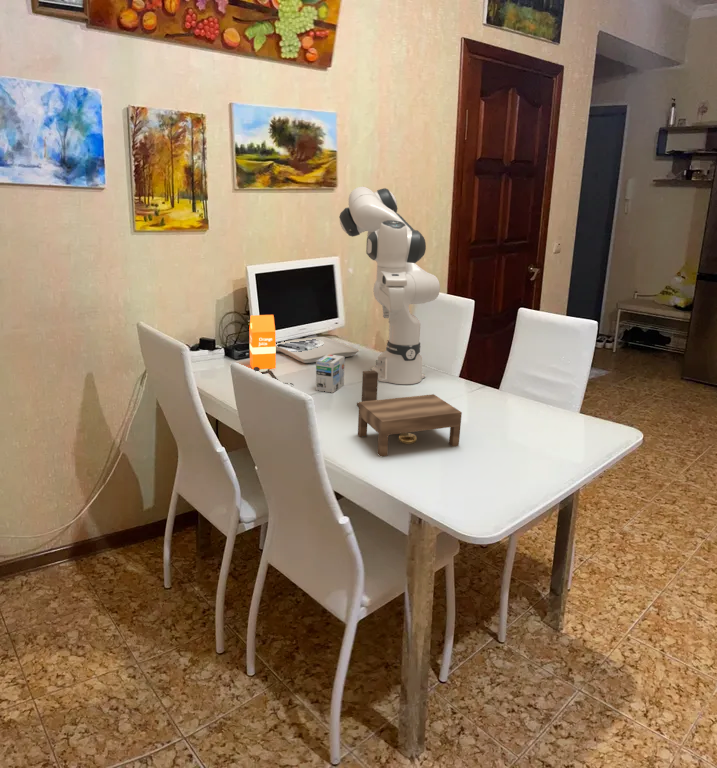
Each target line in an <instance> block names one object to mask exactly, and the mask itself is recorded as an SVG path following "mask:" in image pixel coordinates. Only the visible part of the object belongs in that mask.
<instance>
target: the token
mask: <svg viewBox="0 0 717 768" xmlns="http://www.w3.org/2000/svg"><path fill="white" fill-rule="evenodd" d="M398 442H400V443H401V442H402V444H404V445H405V444H406V445H411V444H415V443H416V442H417V435H416V434H414V433H412V432H408V433H400V434H398Z"/></svg>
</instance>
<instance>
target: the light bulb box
mask: <svg viewBox="0 0 717 768" xmlns="http://www.w3.org/2000/svg"><path fill="white" fill-rule="evenodd" d="M345 358H346V357H344V356H338V355H332V354H327V355H326V356H324V357H322V358H321V359H319V360H317V361H316V362H315V363H316V364H315V366H316V368H315V375H316V376H315V391H318V390H319V391H318V392H324V391H325V393H330V392H331V393H335V392H336V391H338V390H339V389H341V388H342V387H344V386H345V385H344V383H345V362H346V361H345V360H346V359H345Z"/></svg>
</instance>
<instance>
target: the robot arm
mask: <svg viewBox="0 0 717 768" xmlns="http://www.w3.org/2000/svg"><path fill="white" fill-rule="evenodd" d="M339 225H340V226H341V229H342V231H344V232H345V234H347V235H348V236H349V237H356V236H359V235H360V234H362V233H364V232H367V234H366V235H367V238H366V251H365V253H366V255H367V256H368V257H369V258H370V259H371V260H372V261H374V262H376V280H375V282H374V285H373V289H372V291H373V296H374V298H375V300H376V302H377V303H378V304H379V305H381V307H382V317H383V319H388V324H389V325H388V327H389V329H388V331H389V333H388V340H387V342H386V348H385V350H384V351H383V352H382V353H381V354H380V355H379V356H378V357H377V359H376V360H375V364H376V365H375V366H373V367H370V371H373V370H374V371H376V372H377V373H378V382H381V383H382V382H383V383H390V384H396V385H413V384H418V383H420V382H422V379H424V378H425V377H426V374H425V373H423V356H422V355H421V354H420V352H421V342H420V340H421V339H420V337H421V336H420V335H421V322H420V320H419V318H418V317H416V316H415V315H414V314H412V313H411V311H410V305H420V304H421V305H423V304H426V303H430V302H432V301H435V300H436V299H437V298H438V297H439V295H440V292H441V284H440V281H439V278H438V277H437V276H436V275H435V274H433V273H430V272H428V271H426V270H425V269H423V268H422V267H420V266H419V265H418V264H417V263H418V262H419V261H420V260H421V259H422V258H423V257H424V255H425V254H426V251H427V250H426V249H427V246H426V245H427V243H426V239H425V237H424V236H423V234H422V233H421V232H420V231H419V230H416V229H414V228H413V227H412V226H411V225H410V224H409V223H408V221H407V220H405V219H404V217H403V216H402V215H400V214H399V213H398V201H397V199H396V196H395V195H394V194H393V192H392V191H390V190H389V189H388V188H386V187H384V188H381V189H380V188H379V189H378V190H376V191H373V190H372V189H370V188H368V187H366V186H357V187H355V188H354V189H353V190H351V192H350V194H349V196H348V207H345V208H343V210H342V211H341V212H340V214H339Z"/></svg>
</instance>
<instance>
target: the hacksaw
mask: <svg viewBox="0 0 717 768" xmlns="http://www.w3.org/2000/svg"><path fill="white" fill-rule="evenodd" d="M253 369H254V371H255V370H256V371H259V372H261V373H262V374H267V373H268V374H269V375H270V377H272V379H273V378H275V379H277V380H279V379H278V377H277V376H276V375H275V374H274V372H273V371H272V370H271V369H266V371H260V370H261V369H260V368H259V367H254V368H253ZM253 369H252V370H253ZM256 371H255V372H256ZM288 383H290V382H284V385H285V384H286V385H291V386H292V385H293V386H294V383H290V384H288Z"/></svg>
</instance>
